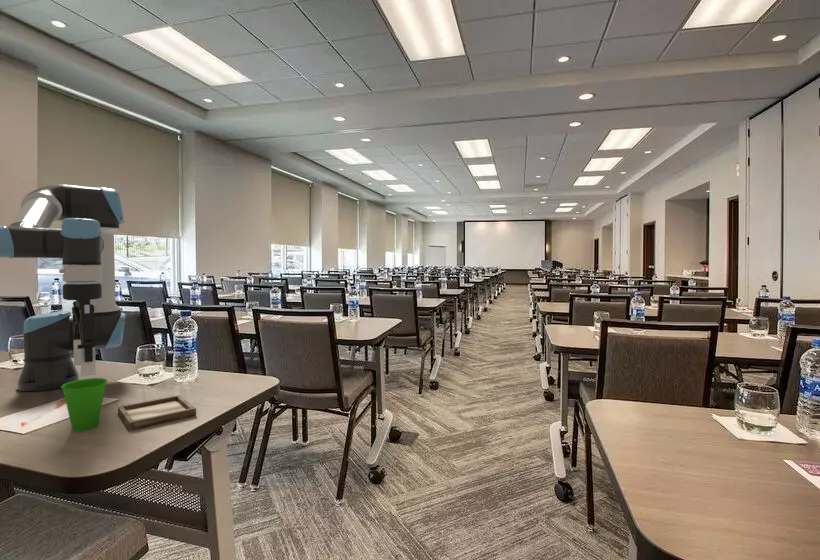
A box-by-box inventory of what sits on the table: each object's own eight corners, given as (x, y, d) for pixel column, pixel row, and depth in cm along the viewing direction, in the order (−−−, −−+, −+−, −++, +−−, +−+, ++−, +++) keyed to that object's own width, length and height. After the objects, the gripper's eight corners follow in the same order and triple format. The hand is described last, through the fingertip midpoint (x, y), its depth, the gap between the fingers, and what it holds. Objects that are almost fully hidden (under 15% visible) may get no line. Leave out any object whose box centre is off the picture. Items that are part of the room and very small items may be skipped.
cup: (83, 436, 100) (82, 390, 99) (52, 432, 101) (50, 387, 101) (117, 422, 108) (116, 379, 108) (87, 419, 110) (86, 377, 110)
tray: (117, 413, 114) (117, 406, 114) (179, 401, 124) (179, 394, 124) (129, 430, 103) (129, 422, 103) (196, 415, 114) (196, 408, 113)
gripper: (57, 281, 110) (59, 363, 110) (68, 285, 92) (70, 383, 92) (93, 280, 115) (95, 358, 116) (110, 284, 97) (112, 377, 98)
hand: (84, 369), depth 104 cm, fingers open, 13 cm apart
